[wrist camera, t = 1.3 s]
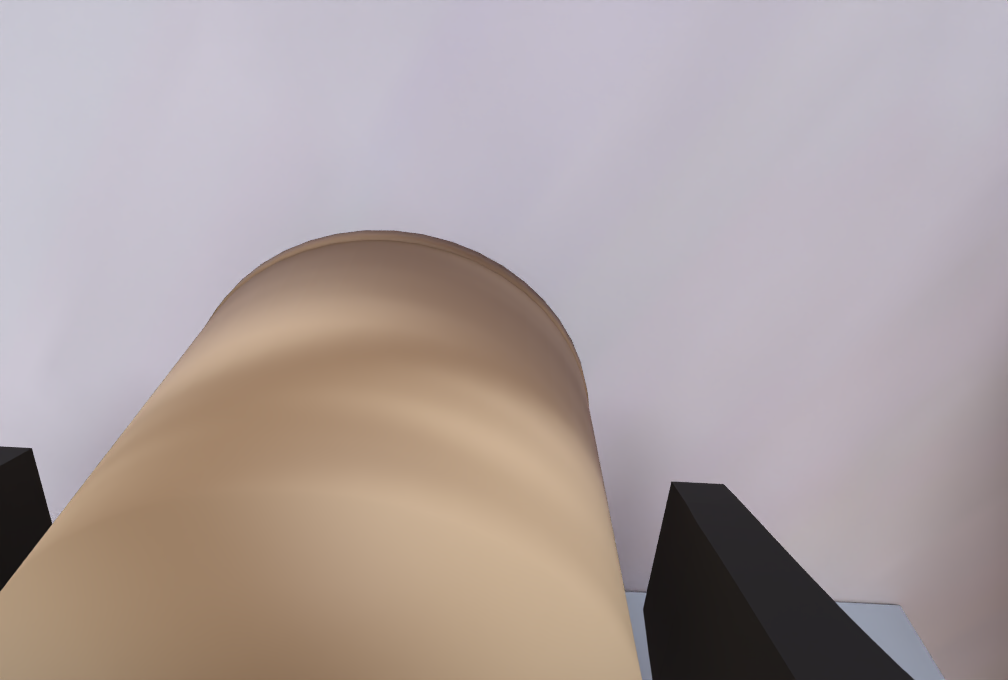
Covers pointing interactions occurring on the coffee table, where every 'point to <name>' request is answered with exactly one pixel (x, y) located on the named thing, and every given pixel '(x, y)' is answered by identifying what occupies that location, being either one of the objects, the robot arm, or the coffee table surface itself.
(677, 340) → the coffee table surface
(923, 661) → the mortise board
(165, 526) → the oak peg
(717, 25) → the coffee table surface
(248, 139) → the coffee table surface
